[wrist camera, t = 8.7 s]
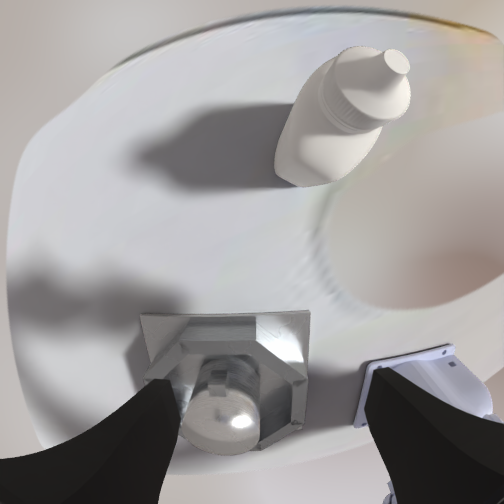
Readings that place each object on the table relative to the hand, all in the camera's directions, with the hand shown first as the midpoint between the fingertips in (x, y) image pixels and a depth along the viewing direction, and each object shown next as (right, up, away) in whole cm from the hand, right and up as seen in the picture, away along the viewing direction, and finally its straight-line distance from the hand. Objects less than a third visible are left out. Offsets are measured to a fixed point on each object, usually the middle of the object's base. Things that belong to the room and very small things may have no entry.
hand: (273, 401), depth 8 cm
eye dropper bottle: (+3, +12, +8) cm, 15 cm away
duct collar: (-3, -5, +11) cm, 12 cm away
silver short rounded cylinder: (-3, -5, +11) cm, 12 cm away
